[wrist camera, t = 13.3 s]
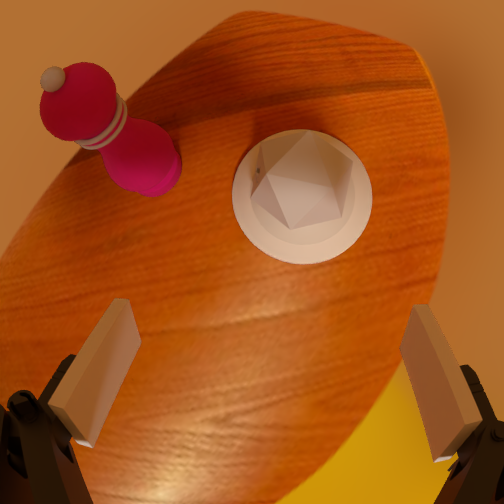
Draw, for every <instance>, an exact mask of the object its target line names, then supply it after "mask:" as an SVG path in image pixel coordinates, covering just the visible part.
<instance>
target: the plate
mask: <svg viewBox="0 0 504 504" xmlns="http://www.w3.org/2000/svg"><path fill="white" fill-rule="evenodd" d="M303 131H307V130H304V129H297V130H288V131H283V132H280V133H276V134H274V135H272V136H269V137H267V138H266V139H264V140H262V141H261V142H263V141H267V140H271V139H275V138H278V137H282V136H286V135H291V134H295V133H299V132H303ZM311 131H312V132H314V133H315V134H317V135H318V136H319V137H321V138H322V139H324V140H325V141H326V142H328V143H329V144H331V145H332V146H333V147H335V148H336V149H338V150H339V151H340V152H342V153H343V154H344V155H346V156H347V157H348V158H350V159H351V160H352V161H353V166H352V171H351V176H350V181H349V186H348V190H347V195H346V200H345V204H344V209H343V213H342V218H339V219H334V220H330V221H326V222H322V223H317V224H313V225H309V226H305V227H301V228H296V229H292V230H290V229H288V228H287V227H286V226H285V225H283V224H282V223H281V222H280V221H278V220H277V219H276V218H275V217H274V216H272V215H271V214H270V213H269V212H267V211H266V210H265V209H263V208H262V207H261V206H260V205H258V204H257V203H256V202H255V201H253V200H252V199H251V198H250V197H251V192H252V186H253V181H254V175H255V170H256V164H257V159H258V154H259V148H260V143H261V142H259V143H258V144H257V145H255V146H254V147H253V148H252V149H251V150H250V151H249V152H248V153H247V155H246V156H245V157H244V159H243V160H242V162H241V164H240V165H239V167H238V170H237V172H236V174H235V178H234V182H233V189H232V202H233V208H234V212H235V215H236V218H237V221H238V223H239V225H240V227H241V229H242V230H243V232H244V233H245V235H246V236H247V237H248V238H249V240H250V241H251V242H252V243H253V244H254V245H255V246H256V247H257V248H258V249H260V250H261V251H263V252H264V253H265V254H267V255H269V256H271V257H273V258H275V259H277V260H280V261H283V262H287V263H291V264H301V265H303V264H315V263H320V262H324V261H327V260H330V259H332V258H334V257H336V256H338V255H339V254H341V253H342V252H344V251H345V250H347V249H348V248H349V247H350V246H351V245H352V244H354V242H355V241H356V240H357V239H358V238H359V237H360V235H361V233H362V232H363V230H364V229H365V226H366V224H367V222H368V219H369V216H370V213H371V207H372V190H371V184H370V180H369V177H368V174H367V172H366V169H365V168H364V166H363V164H362V162H361V161H360V159H359V158H358V157H357V155H356V154H355V153H354V152H353V151H352V150H351V149H350V148H349V147H348V146H346V145H345V144H344V143H342V142H341V141H339V140H338V139H336V138H334V137H332V136H330V135H328V134H325V133H322V132H318V131H313V130H311Z"/></svg>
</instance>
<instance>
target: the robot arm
mask: <svg viewBox="0 0 504 504" xmlns="http://www.w3.org/2000/svg"><path fill="white" fill-rule="evenodd" d="M140 344H141V339H140V336H139V333H138V329H137V326H136V323H135V319H134V316H133V313H132V309H131V306H130V302H129V299H120V298H115V299H114V300H113V302H112V303H111V305H110V306H109V307H108V309H107V310H106V312H105V313H104V315H103V316H102V318H101V319H100V321H99V322H98V324H97V325H96V327H95V328H94V330H93V331H92V333H91V334H90V336H89V337H88V339H87V340H86V342H85V343H84V345H83V346H82V348H81V350H80V351H79V353H78V354H77V355H72V354H70V355H69V356H68V357H67V358H65V359H64V360H63V361H62V362H61V364H60V365H59V367H58V368H57V371H56V372H55V373H54V375H53V376H52V379H50V381H49V382H48V384H47V386H46V387H45V389H44V391H43V392H42V394H41V395H40V397H39V399H38V400H37V399H36V398H35V396H34V395H33V394H32V393H31V392H30V391H28V390H20V391H17V392H15V393H14V394H13V395H12V396H11V397H10V398H9V400H8V403H7V408H8V409H9V410H10V411H6V410H5V409H4V408H3V406H2V405H0V504H93V501H92V499H91V497H90V494H89V492H88V489H87V487H86V484H85V482H84V479H83V477H82V474H81V471H80V468H79V466H78V463H77V460H76V457H75V454H74V451H73V448H72V446H71V444H70V442H69V441H70V439H71V437H73V438H74V439H75V440H76V442H77V443H78V444H81V445H84V446H88V447H91V448H93V447H94V445H95V442H96V440H97V438H98V435H99V433H100V431H101V428H102V426H103V424H104V422H105V419H106V417H107V415H108V413H109V410H110V408H111V406H112V404H113V401H114V399H115V397H116V395H117V393H118V391H119V388H120V386H121V384H122V382H123V380H124V378H125V376H126V373H127V371H128V369H129V367H130V365H131V363H132V361H133V359H134V357H135V355H136V352H137V350H138V348H139V346H140ZM399 349H400V352H401V355H402V357H403V360H404V363H405V366H406V369H407V372H408V375H409V378H410V381H411V384H412V387H413V391H414V394H415V397H416V400H417V403H418V407H419V410H420V414H421V417H422V420H423V424H424V427H425V431H426V435H427V438H428V442H429V446H430V449H431V454H432V458H433V462H438V461H442V460H447V459H450V458H451V457H452V456H453V455H454V454H455V453H456V452H457V454H458V457H459V458H458V459H457V460H456V461H455V462H454V463H453V464H452V465H451V467H450V468H449V469H448V471H450V470H451V469H452V470H451V472H450V474H449V477H448V478H447V480H446V482H445V484H444V486H443V488H442V490H441V491H440V493H439V495H438V497H437V498H436V500H435V502H434V504H504V422H502V421H498V420H497V418H496V416H495V414H494V412H493V409H492V407H491V405H490V403H489V400H488V398H487V396H486V393H485V392H484V389H483V387H482V385H481V384H480V381H479V378H478V376H477V374H476V372H475V371H474V370H473V369H472V368H471V367H469V365H462V366H459V364H458V362H457V360H456V358H455V356H454V354H453V352H452V350H451V348H450V346H449V344H448V342H447V340H446V338H445V336H444V334H443V332H442V330H441V328H440V326H439V325H438V323H437V321H436V319H435V317H434V315H433V313H432V311H431V310H430V308H429V306H428V304H421V305H413V308H412V311H411V314H410V318H409V321H408V324H407V327H406V330H405V333H404V336H403V340H402V342H401V345H400V348H399Z"/></svg>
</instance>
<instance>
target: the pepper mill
mask: <svg viewBox="0 0 504 504" xmlns="http://www.w3.org/2000/svg"><path fill="white" fill-rule="evenodd" d="M40 84H41V86H42V88H43V89H44V92H43V94H42V97H41V102H40V116H41V119H42V122H43V124H44V126H45V127H46V129H47V130H48V131H49V132H50V133H51V134H52V135H54V136H55V137H57V138H59V139H61V140H65V141H74V142H76V143H77V144H79V145H80V146H81V147H83V148H85V149H89V150H93V149H97V150H98V151H99V152H100V153H101V155H102V158H103V162H104V165H105V168H106V170H107V172H108V174H109V176H110V177H111V179H112V180H113V181H114V182H115V183H116V184H118V185H119V186H120V187H122V188H123V189H126V190H128V191H134V192H138V193H140V194H142V195H144V196H147V197H155V196H160V195H163V194H164V193H166V192H168V191H169V190H170V189H171V188H172V187H173V186H174V185H175V184H176V182H177V181H178V179H179V177H180V174H181V169H182V163H181V158H180V156H179V154H178V153H177V151H176V150H175V149H174V144H173V141H172V139H171V137H170V135H169V134H168V133H167V132H166V131H165V130H164V129H163V128H161V127H160V126H159V125H157V124H155V123H153V122H150V121H147V120H142V119H136V118H132V117H130V116H129V115H128V114H127V106H126V103H125V101H124V100H123V99H122V98H121V97H120V96H119V94H118V93H116V86H115V83H114V81H113V79H112V77H111V76H110V74H109V73H108V72H107V71H106V70H105V69H103V68H102V67H100V66H98V65H96V64H94V63H87V62H81V63H76V64H72V65H70V66H68V67H66V68H64V69H63V70H62V69H61V68H59V67H50V68H48V69H47V70H45V71H44V73H43V74H42V76H41V80H40Z"/></svg>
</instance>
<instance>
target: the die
mask: <svg viewBox="0 0 504 504" xmlns="http://www.w3.org/2000/svg"><path fill="white" fill-rule="evenodd" d="M352 166H353V161H352V160H351V159H350V158H348V157H347V156H346V155H344V154H343V153H342V152H340V151H339V150H338V149H336V148H335V147H333V146H332V145H331V144H329V143H328V142H326V141H325V140H324V139H322V138H321V137H319V136H318V135H317V134H315V133H314V132H312V131H311V130H307V131H303V132H299V133H295V134H291V135H286V136H282V137H278V138H275V139H271V140H267V141H263V142H261V143H260V148H259V154H258V159H257V164H256V170H255V175H254V181H253V186H252V192H251V197H250V198H251V199H252V200H253V201H255V202H256V203H257V204H258V205H260V206H261V207H262V208H263V209H265V210H266V211H267V212H269V213H270V214H271V215H272V216H274V217H275V218H276V219H277V220H278V221H280V222H281V223H282V224H283V225H285V226H286V227H287V228H288V229H290V230H292V229H296V228H301V227H305V226H309V225H313V224H317V223H322V222H326V221H330V220H334V219H339V218H342V213H343V209H344V204H345V200H346V195H347V190H348V186H349V181H350V176H351V171H352Z"/></svg>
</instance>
